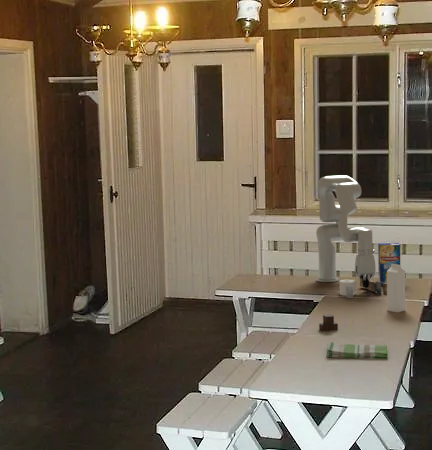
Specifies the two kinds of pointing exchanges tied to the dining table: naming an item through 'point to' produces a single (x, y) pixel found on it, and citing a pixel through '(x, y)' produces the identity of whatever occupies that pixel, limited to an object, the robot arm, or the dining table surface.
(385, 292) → the fence panel
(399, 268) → the milk
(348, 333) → the dining table surface
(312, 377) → the dining table surface
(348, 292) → the latch post
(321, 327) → the stack of crates
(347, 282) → the toilet paper
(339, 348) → the dish towel
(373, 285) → the brown bar
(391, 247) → the blue food box
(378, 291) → the pivot post
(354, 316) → the dining table surface
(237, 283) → the dining table surface
